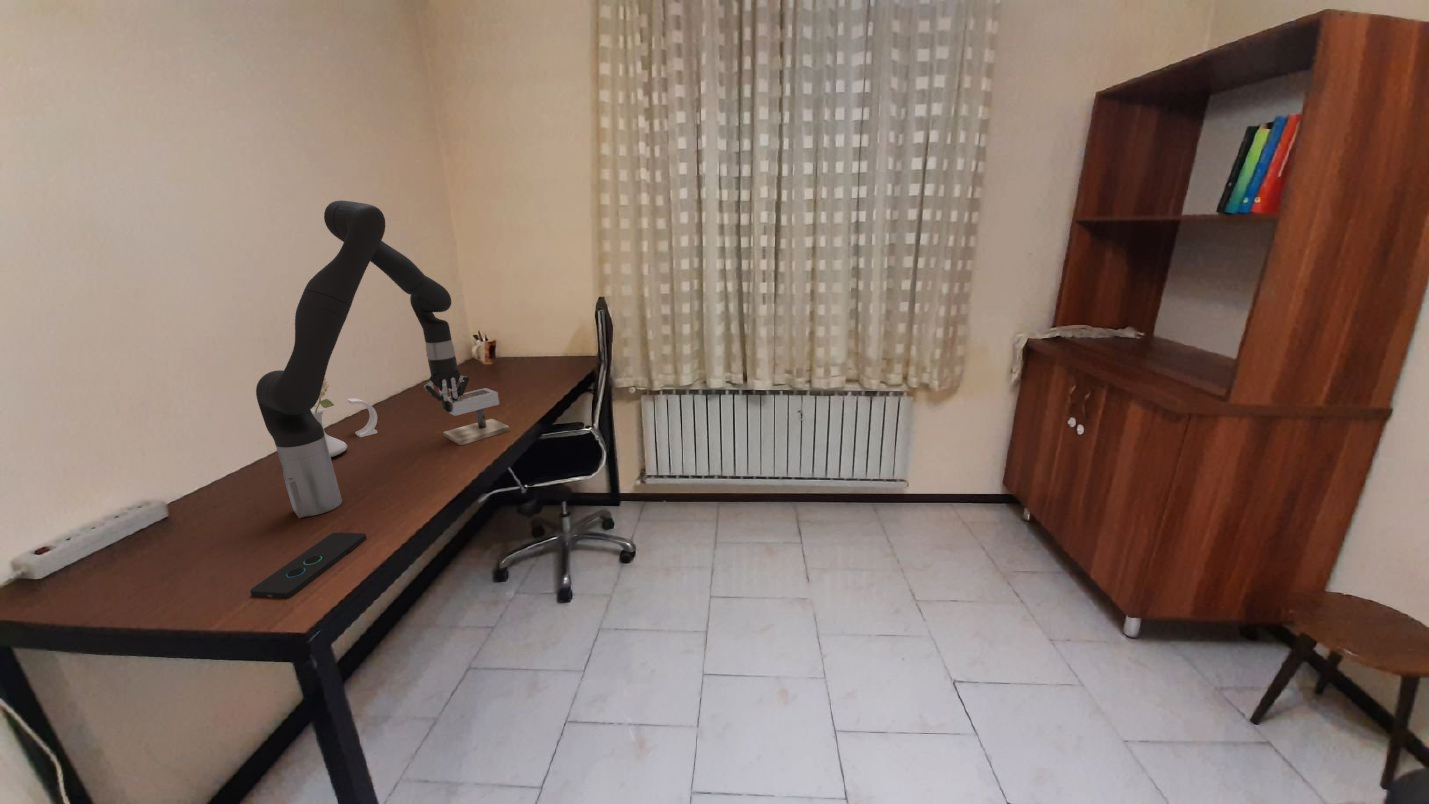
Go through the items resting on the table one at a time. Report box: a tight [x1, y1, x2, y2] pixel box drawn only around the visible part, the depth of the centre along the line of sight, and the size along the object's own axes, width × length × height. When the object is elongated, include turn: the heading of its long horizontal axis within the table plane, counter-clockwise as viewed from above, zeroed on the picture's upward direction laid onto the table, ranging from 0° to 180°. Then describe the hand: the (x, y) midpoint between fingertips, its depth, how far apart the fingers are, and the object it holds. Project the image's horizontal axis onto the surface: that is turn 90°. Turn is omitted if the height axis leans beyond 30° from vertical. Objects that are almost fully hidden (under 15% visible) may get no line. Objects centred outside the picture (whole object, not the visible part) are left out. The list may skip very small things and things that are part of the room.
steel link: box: [443, 387, 500, 417], centre depth 173 cm, size 14×8×4 cm, turn 137°
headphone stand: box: [346, 398, 378, 438], centre depth 178 cm, size 5×6×12 cm
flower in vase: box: [310, 377, 348, 458], centre depth 158 cm, size 13×11×25 cm
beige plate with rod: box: [442, 408, 511, 446], centre depth 175 cm, size 16×12×11 cm
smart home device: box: [249, 532, 367, 599], centre depth 109 cm, size 8×2×20 cm
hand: (451, 410), depth 169 cm, fingers closed on steel link, 1 cm apart
